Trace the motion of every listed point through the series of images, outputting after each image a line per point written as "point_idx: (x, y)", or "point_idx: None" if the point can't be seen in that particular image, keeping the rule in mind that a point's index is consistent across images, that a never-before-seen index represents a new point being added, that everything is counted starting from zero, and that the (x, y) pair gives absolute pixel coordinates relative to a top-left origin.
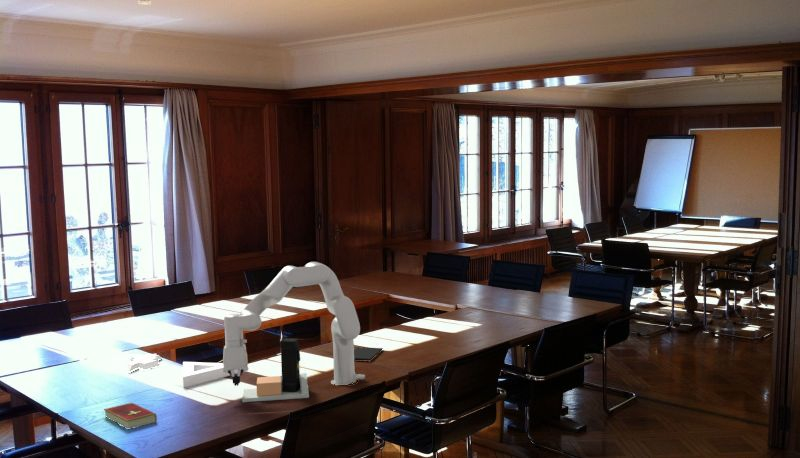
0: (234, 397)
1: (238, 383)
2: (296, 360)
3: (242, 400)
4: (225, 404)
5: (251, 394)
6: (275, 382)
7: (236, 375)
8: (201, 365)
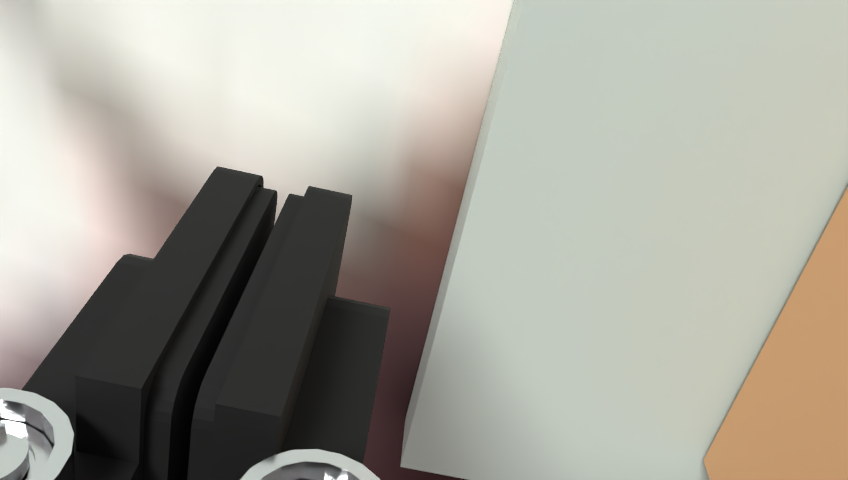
0: (282, 60)
1: (336, 274)
2: None
3: (404, 443)
4: None
5: (641, 302)
6: None
7: (190, 450)
8: None
